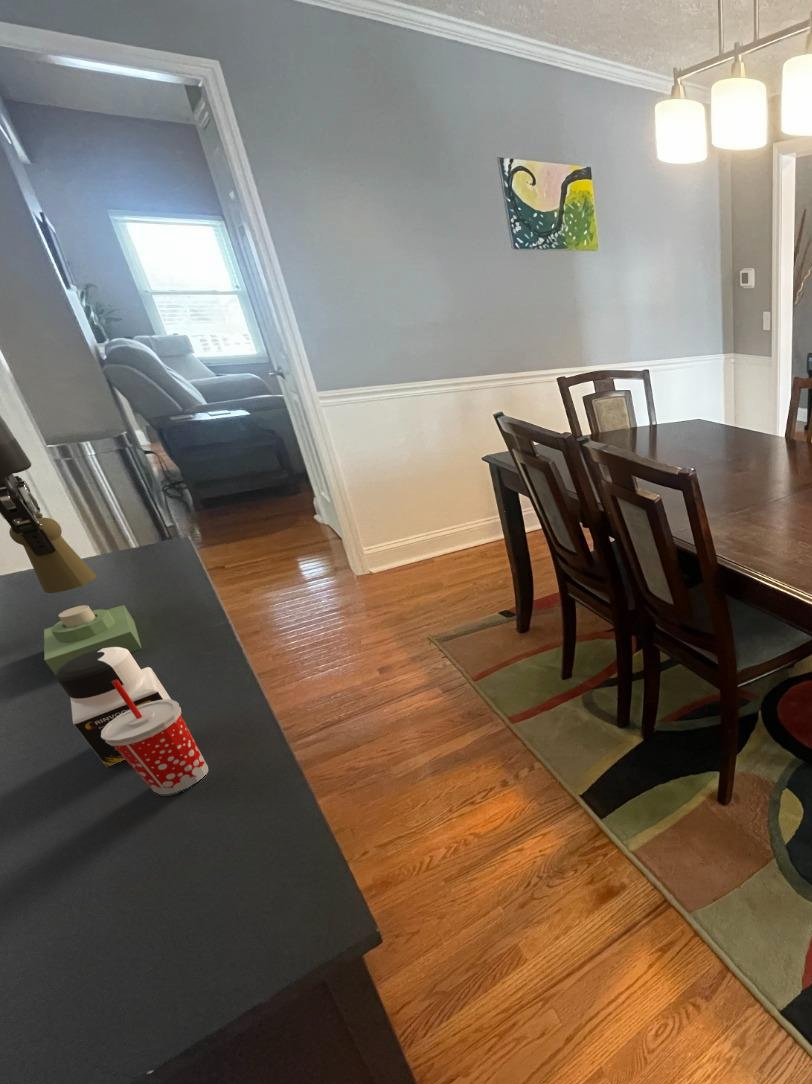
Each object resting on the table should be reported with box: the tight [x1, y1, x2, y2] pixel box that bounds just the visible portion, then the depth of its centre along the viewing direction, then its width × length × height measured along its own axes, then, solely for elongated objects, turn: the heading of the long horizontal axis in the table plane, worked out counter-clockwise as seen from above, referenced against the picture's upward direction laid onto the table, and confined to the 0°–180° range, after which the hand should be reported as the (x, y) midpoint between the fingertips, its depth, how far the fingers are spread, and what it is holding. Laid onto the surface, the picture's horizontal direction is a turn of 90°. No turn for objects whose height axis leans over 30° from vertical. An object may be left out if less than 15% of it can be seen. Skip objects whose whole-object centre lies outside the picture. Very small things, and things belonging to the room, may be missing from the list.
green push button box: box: [43, 604, 143, 676], centre depth 90 cm, size 12×9×5 cm
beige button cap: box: [58, 604, 96, 628], centre depth 88 cm, size 3×3×2 cm
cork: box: [8, 517, 97, 594], centre depth 93 cm, size 6×6×11 cm
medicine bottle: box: [55, 647, 172, 768], centre depth 70 cm, size 7×7×12 cm
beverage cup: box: [101, 679, 209, 794], centre depth 63 cm, size 6×6×14 cm
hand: (46, 547), depth 93 cm, fingers closed on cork, 5 cm apart
